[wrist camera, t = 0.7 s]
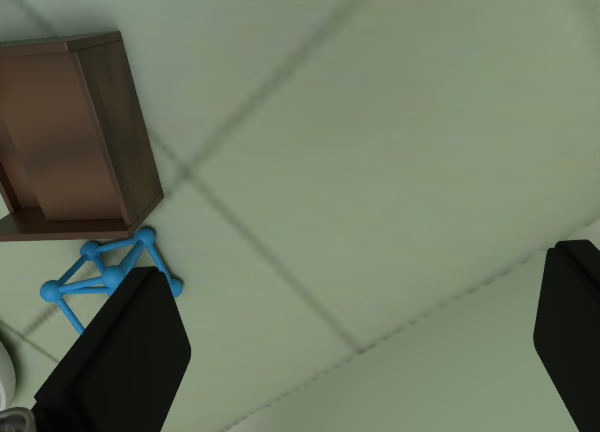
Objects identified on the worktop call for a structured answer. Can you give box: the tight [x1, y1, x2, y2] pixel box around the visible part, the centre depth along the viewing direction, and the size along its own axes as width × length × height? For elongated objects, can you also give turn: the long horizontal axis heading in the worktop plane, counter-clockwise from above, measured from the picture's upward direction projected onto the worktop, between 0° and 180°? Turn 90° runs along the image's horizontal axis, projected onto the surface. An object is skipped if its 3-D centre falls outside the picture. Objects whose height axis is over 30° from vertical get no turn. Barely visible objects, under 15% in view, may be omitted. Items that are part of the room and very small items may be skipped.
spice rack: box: [0, 31, 164, 242], centre depth 41 cm, size 18×16×9 cm
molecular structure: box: [40, 228, 183, 335], centre depth 49 cm, size 10×10×10 cm
